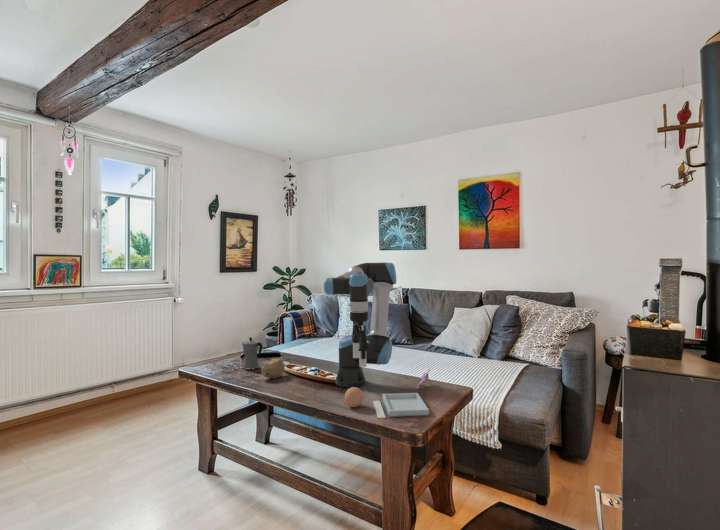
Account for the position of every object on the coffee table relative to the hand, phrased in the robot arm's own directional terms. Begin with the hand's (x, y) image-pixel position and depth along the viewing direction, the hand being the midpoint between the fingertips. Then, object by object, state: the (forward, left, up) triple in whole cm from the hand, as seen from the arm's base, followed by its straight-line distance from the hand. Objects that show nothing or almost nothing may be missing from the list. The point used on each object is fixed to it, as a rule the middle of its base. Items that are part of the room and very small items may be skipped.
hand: (359, 362), depth 156 cm
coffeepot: (-67, -58, -19) cm, 91 cm away
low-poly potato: (-47, -43, -19) cm, 67 cm away
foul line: (+2, +8, -19) cm, 21 cm away
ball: (-2, -2, -19) cm, 19 cm away
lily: (-24, +34, -20) cm, 46 cm away
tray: (0, +19, -19) cm, 27 cm away
